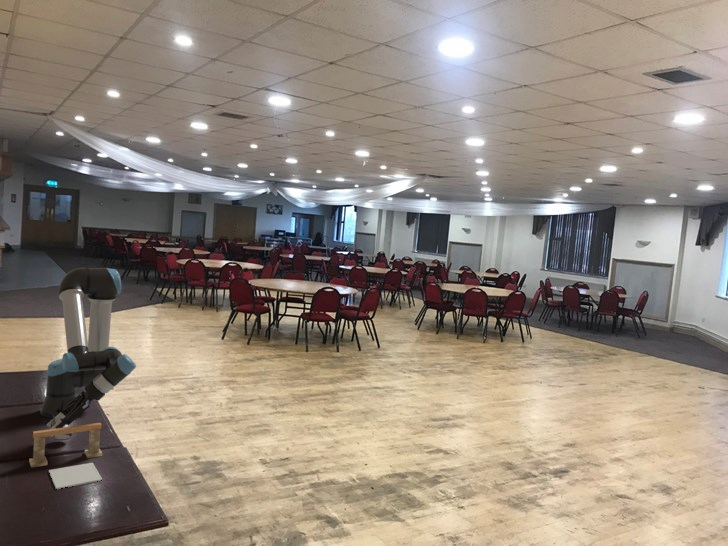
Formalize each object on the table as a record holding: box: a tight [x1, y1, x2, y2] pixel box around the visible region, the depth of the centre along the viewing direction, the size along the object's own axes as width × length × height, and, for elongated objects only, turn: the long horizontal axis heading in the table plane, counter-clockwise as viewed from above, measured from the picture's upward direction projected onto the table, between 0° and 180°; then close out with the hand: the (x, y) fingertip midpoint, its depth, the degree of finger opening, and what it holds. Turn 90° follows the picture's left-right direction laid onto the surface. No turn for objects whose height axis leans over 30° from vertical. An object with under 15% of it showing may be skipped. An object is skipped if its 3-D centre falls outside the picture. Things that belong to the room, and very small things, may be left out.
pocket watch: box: [50, 415, 74, 442], centre depth 212 cm, size 8×8×10 cm
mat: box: [48, 462, 103, 490], centre depth 189 cm, size 14×14×1 cm
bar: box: [32, 422, 103, 439], centre depth 200 cm, size 22×2×2 cm, turn 129°
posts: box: [28, 429, 103, 469], centre depth 200 cm, size 23×5×10 cm, turn 129°
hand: (49, 430), depth 210 cm, fingers closed on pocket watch, 7 cm apart
